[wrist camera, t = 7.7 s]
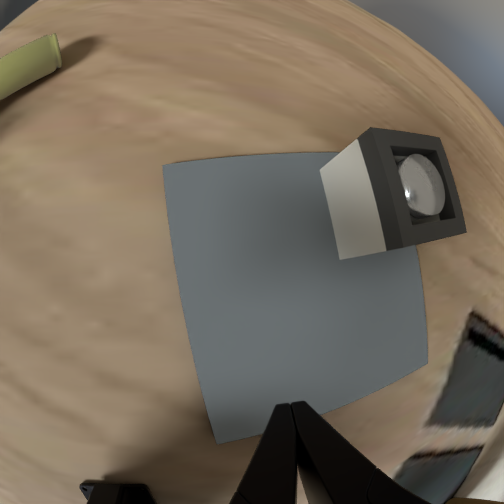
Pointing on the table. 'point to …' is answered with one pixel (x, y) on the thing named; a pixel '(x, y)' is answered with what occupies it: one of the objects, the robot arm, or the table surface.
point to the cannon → (29, 64)
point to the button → (421, 186)
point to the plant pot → (471, 501)
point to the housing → (385, 194)
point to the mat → (284, 292)
